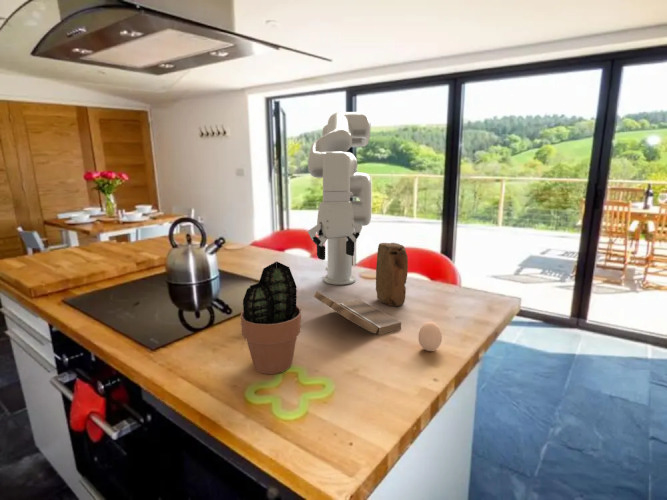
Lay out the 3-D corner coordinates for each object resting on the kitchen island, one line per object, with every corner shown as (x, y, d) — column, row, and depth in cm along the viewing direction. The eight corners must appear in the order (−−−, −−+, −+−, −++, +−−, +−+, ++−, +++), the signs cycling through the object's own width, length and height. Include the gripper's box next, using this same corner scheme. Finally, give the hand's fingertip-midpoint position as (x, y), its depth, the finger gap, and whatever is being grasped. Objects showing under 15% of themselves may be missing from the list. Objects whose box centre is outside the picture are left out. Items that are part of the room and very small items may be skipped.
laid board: (339, 309, 125) (339, 303, 124) (359, 305, 128) (360, 299, 128) (379, 334, 107) (379, 327, 107) (400, 328, 111) (401, 321, 110)
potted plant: (251, 350, 98) (246, 254, 92) (304, 350, 98) (303, 254, 92) (236, 379, 85) (229, 270, 79) (298, 381, 84) (296, 270, 79)
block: (373, 298, 135) (375, 241, 131) (392, 295, 138) (394, 240, 133) (389, 308, 125) (391, 248, 121) (409, 305, 128) (412, 246, 124)
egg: (430, 358, 95) (432, 329, 93) (412, 348, 99) (414, 321, 97) (445, 351, 98) (447, 323, 96) (427, 342, 102) (429, 315, 101)
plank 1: (313, 296, 119) (316, 290, 119) (336, 309, 124) (339, 303, 124) (329, 307, 110) (333, 301, 110) (353, 320, 115) (357, 314, 115)
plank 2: (330, 307, 110) (334, 301, 110) (354, 320, 115) (357, 315, 115) (349, 320, 101) (353, 313, 101) (374, 334, 106) (378, 327, 107)
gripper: (354, 195, 116) (353, 251, 119) (302, 197, 107) (303, 258, 110) (369, 197, 109) (367, 256, 113) (315, 199, 101) (316, 263, 104)
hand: (335, 257), depth 112 cm, fingers open, 9 cm apart
